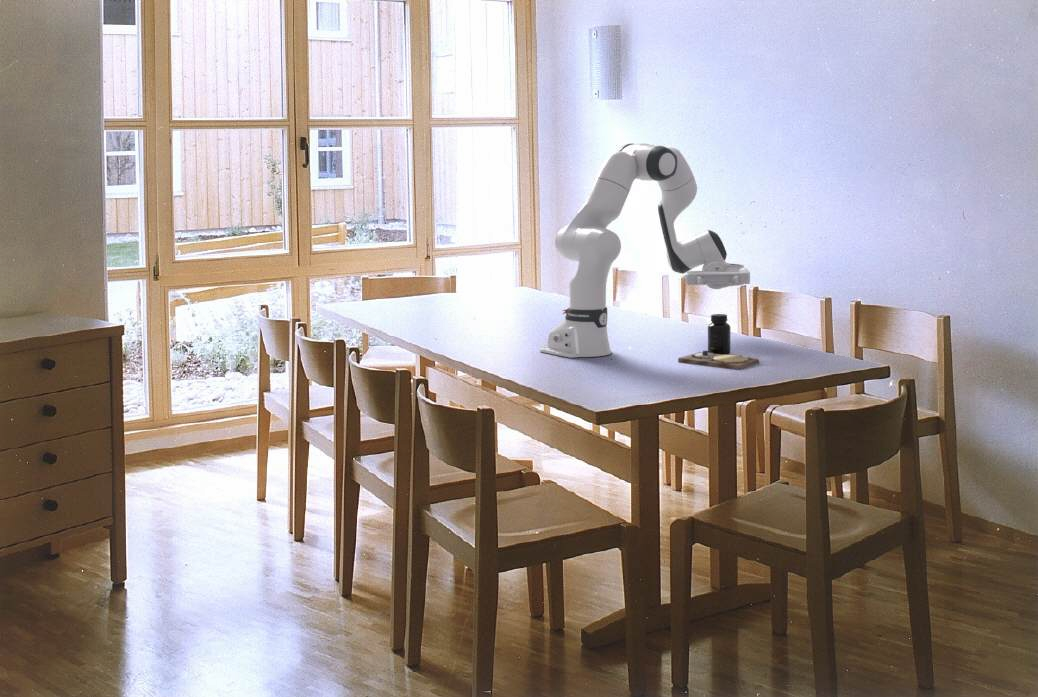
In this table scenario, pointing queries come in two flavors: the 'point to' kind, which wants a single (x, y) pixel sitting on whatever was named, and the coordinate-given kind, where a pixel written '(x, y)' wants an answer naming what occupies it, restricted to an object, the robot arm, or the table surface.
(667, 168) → the robot arm
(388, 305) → the table surface
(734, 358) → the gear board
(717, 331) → the supplement bottle
